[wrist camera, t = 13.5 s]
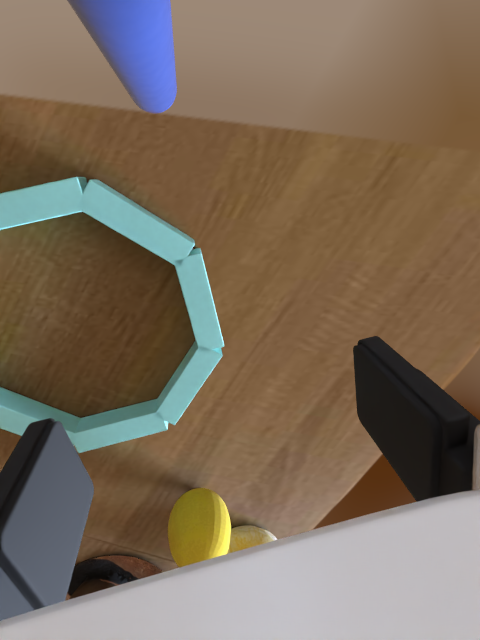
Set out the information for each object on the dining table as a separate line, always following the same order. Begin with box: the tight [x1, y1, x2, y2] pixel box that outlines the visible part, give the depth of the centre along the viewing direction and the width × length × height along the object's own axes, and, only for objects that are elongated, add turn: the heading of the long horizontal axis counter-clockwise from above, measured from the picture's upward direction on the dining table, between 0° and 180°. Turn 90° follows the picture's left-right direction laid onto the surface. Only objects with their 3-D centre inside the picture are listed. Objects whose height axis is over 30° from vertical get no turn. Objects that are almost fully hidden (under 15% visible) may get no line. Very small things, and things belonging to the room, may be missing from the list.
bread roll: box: [227, 525, 277, 554], centre depth 37 cm, size 8×9×4 cm
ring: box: [0, 177, 224, 453], centre depth 26 cm, size 20×20×2 cm
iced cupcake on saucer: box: [65, 555, 162, 601], centre depth 37 cm, size 12×10×10 cm
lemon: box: [168, 488, 231, 567], centre depth 31 cm, size 6×6×8 cm
